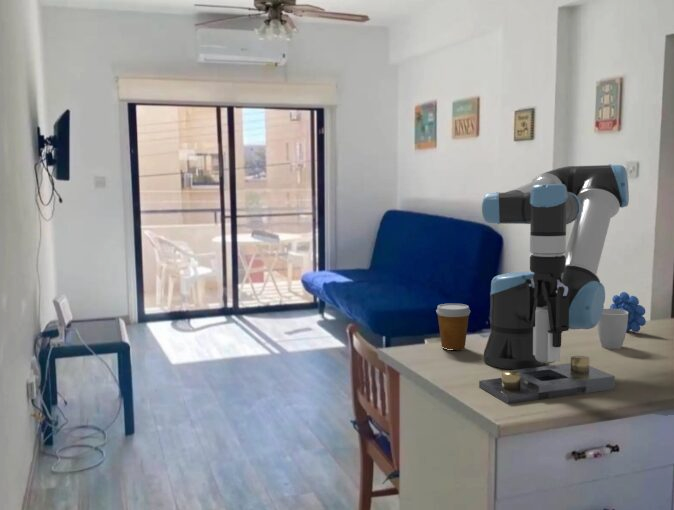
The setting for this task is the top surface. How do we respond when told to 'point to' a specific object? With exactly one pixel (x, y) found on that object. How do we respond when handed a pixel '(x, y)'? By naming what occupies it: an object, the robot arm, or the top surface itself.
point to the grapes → (630, 310)
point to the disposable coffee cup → (453, 325)
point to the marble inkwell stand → (549, 381)
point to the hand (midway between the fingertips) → (546, 357)
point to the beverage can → (542, 334)
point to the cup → (612, 328)
